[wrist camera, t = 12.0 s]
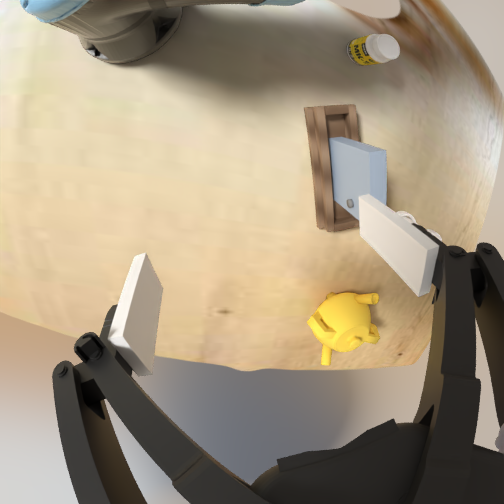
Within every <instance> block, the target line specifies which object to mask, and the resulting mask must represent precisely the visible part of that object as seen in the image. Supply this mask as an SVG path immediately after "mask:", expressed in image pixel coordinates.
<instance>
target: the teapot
mask: <svg viewBox="0 0 504 504" xmlns="http://www.w3.org/2000/svg"><path fill="white" fill-rule="evenodd" d="M378 301H379V296H378V294H377V293H370V294H361V295H358V294H356V293H339V294H335V293H334V292H331V293H329V294H328V295H327V296H326V300H325V301H324V302H323V303H322V304H321V305H320V306H319V307H318V309H317V310H316V312H315V314H313V315H312V316H311V318H310V319H309V320H308V322H307V323H308V325H309V326H310V327H311V329H312V331H313V333H314V335H315V337H316V338H317V339H318V340H319V341H320V342H321V343H322V344H323V348H322V358H321V365H330V363H331V355H332V349H333V350H335V351H339V352H348V351H351V350H354V349H356V348H357V347H359V346H360V345H362V344H363V343H364V342H367V343H373V344H376V343H377V342H378V340H379V339H380V336H379V333H378V330H377V327H376V325H374V324H372V323H371V314H370V310H369V306H368V304H377V303H378Z"/></svg>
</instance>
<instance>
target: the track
mask: <svg viewBox="0 0 504 504" xmlns="http://www.w3.org/2000/svg"><path fill="white" fill-rule="evenodd" d="M304 111H305V118H306V125H307V132H308V140H309V148H310V156H311V165H312V174H313V184H314V195H315V206H316V219H317V227H318V228H319V229H322V228H325V230H326V231H327V232H330V231H340V230H344V229H348V228H353V227H357V226H360V223H359V220H358V219H356V218H355V217H354V216H353V215H352V214H350V213H349V212H348V211H347V210H346V209H344V208H343V207H342V206H341V205H340V204H338V203H337V202H336V201H335V200H333V194H332V179H331V167H330V156H329V145H328V138H334V137H344V138H348V139H351V140H355V141H358V142H359V137H358V126H357V116H356V107H355V105H351V104H350V105H331V106H318V107H307V108H304Z"/></svg>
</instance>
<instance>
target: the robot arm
mask: <svg viewBox="0 0 504 504" xmlns="http://www.w3.org/2000/svg"><path fill="white" fill-rule="evenodd" d="M303 1H305V0H20V3H21V5H22V7H23V8H24V10H25V11H26V12H28V13H30V14H32V15H34V16H36V18H37V19H39V20H40V21H41V22H44V23H49V24H52V25H54V26H57V27H59V28H62V29H64V30H67V31H69V32H71V33H74V34H76V35H78V36H79V39H80V42H81V44H82V46H83V48H84V49H85V50H86V51H87V52H88V53H89V54H90V55H92V56H93V57H95V58H97V59H100V60H102V61H105V62H109V63H127V62H132V61H136V60H139V59H141V58H144V57H146V56H148V55H150V54H151V53H153V52H155V51H156V50H158V49H159V48H160V47H162V46H163V45H164V44H165V43H166V42H167V41H168V40H169V39H170V38H171V36H172V35H173V34H174V32H175V31H176V29H177V27H178V25H179V23H180V20H181V16H182V7H184V6H195V5H210V4H248V5H249V6H261V5H280V6H290V5H294V4H297V3H300V2H303ZM359 223H360V236H361V237H362V238H363V239H364V240H365V241H366V242H367V243H368V244H369V245H370V246H371V247H372V248H373V249H374V250H375V251H376V252H377V253H378V254H379V255H380V256H381V257H382V258H383V259H384V260H385V261H386V262H387V263H388V264H389V265H390V267H391V268H392V269H393V270H394V271H395V272H396V273H397V274H398V275H399V276H400V277H401V278H402V280H403V281H404V282H405V283H406V284H407V285H408V286H409V287H410V288H411V290H412V291H413V292H414V293H415V294H416V295H417V296H418V297H420V296H422V295H425V294H427V293H429V292H430V288H431V284H432V283H433V284H434V285H435V286H436V290H435V294H434V297H433V301H432V304H434V314H433V326H432V335H431V344H430V352H429V359H428V365H427V371H426V376H425V382H424V387H423V392H422V396H421V401H420V405H419V408H418V411H417V414H416V416H415V418H414V421H413V423H397V424H396V423H395V420H394V419H391V420H389V421H387V422H385V423H383V424H381V425H378V426H376V427H374V428H372V429H369V430H367V431H366V432H364V433H363V434H361V435H360V436H358V437H357V438H356V439H354V440H353V441H351V442H350V443H348V444H347V445H345V446H343V447H342V448H339V449H332V450H321V451H308V452H303V453H301V454H296V455H292V456H288V457H284V458H281V459H277V463H278V465H276V466H274V467H272V468H270V469H269V470H267V471H266V472H264V473H263V474H262V475H260V476H259V477H258V478H257V479H256V480H255V482H254V483H253V484H252V485H249V484H248V483H246V482H245V481H244V480H242V479H241V478H239V477H238V476H236V475H235V474H233V473H232V472H231V471H229V470H228V469H227V468H226V467H224V466H223V465H221V464H220V463H219V462H218V461H216V460H215V459H214V458H213V457H212V456H211V455H209V454H208V453H207V452H206V451H205V450H203V449H202V448H201V447H200V446H199V445H198V444H197V443H195V442H194V441H193V440H192V439H191V438H190V437H189V436H188V435H187V434H186V433H185V432H183V431H182V430H181V429H180V428H179V427H178V426H177V425H176V424H175V423H174V422H173V421H172V420H171V419H170V418H169V417H168V416H167V415H166V414H165V413H164V412H163V411H162V410H161V409H160V408H159V407H158V406H157V405H156V404H155V403H154V401H153V400H152V399H151V398H150V397H149V396H148V395H147V394H146V393H145V392H144V390H143V389H142V388H141V387H140V386H139V385H138V384H137V383H136V381H135V380H134V379H133V378H132V377H131V375H132V370H133V371H134V372H135V373H136V374H137V375H138V376H146V375H152V373H153V362H154V353H155V344H156V336H157V328H158V320H159V313H160V306H161V300H162V293H163V287H162V285H161V283H160V281H159V279H158V277H157V275H156V273H155V271H154V268H153V266H152V264H151V262H150V260H149V258H148V256H147V253H143V254H139V255H136V256H135V257H134V260H133V262H132V265H131V268H130V270H129V273H128V276H127V279H126V282H125V284H124V287H123V290H122V293H121V296H120V299H119V302H118V304H117V305H113V306H112V307H111V309H110V310H109V311H108V313H107V315H106V318H105V322H104V325H103V328H102V331H101V334H100V337H98V336H97V335H96V334H95V333H94V332H89V333H85V334H84V335H82V336H81V337H80V338H79V339H78V340H77V341H76V343H75V346H74V351H75V353H76V354H77V355H78V356H79V357H80V359H81V360H82V361H83V362H82V363H80V364H78V365H76V366H74V365H73V364H72V363H71V362H69V361H62V362H60V363H59V364H58V365H57V366H56V367H55V369H54V371H53V376H52V378H53V389H54V399H55V407H56V414H57V420H58V427H59V432H60V438H61V442H62V447H63V452H64V456H65V459H66V464H67V468H68V471H69V474H70V478H71V482H72V485H73V488H74V491H75V494H76V497H77V500H78V503H79V504H147V502H146V501H145V499H144V497H143V495H142V493H141V491H140V489H139V487H138V485H137V483H136V481H135V479H134V477H133V475H132V472H131V471H130V468H129V466H128V464H127V461H126V459H125V457H124V454H123V452H122V449H121V447H120V444H119V442H118V439H117V437H116V434H115V431H114V428H113V426H112V423H111V420H110V417H109V414H108V411H107V408H106V405H105V401H104V399H107V400H108V402H109V403H110V405H111V406H112V408H113V409H114V411H115V412H116V414H117V415H118V416H119V418H120V419H121V420H122V422H123V423H124V425H125V426H126V427H127V429H128V430H129V431H130V433H131V434H132V435H133V436H134V438H135V439H136V440H137V441H138V442H139V444H140V445H141V446H142V448H143V449H144V450H145V451H146V452H147V453H148V455H149V456H150V457H151V458H152V459H153V460H154V461H155V463H156V464H157V465H158V466H159V467H160V468H161V469H162V470H163V471H164V472H165V473H166V474H167V475H168V477H169V478H170V479H171V480H172V485H173V486H174V488H175V489H176V490H177V491H178V492H179V493H180V494H181V495H182V496H183V497H184V498H185V499H186V500H187V501H188V502H189V503H190V504H504V260H503V259H502V257H501V256H500V254H499V252H498V251H497V249H496V248H495V247H494V246H492V245H491V244H488V243H484V242H483V243H479V244H478V245H477V248H476V252H469V253H467V252H466V251H465V250H464V249H463V248H461V247H458V246H446V245H445V244H444V243H443V242H441V241H440V240H439V239H438V238H436V237H435V236H434V235H432V234H431V233H430V232H428V231H427V230H426V229H425V228H423V227H422V226H420V225H417V224H415V223H412V224H411V223H409V222H408V221H407V220H405V219H404V218H403V217H401V216H400V215H399V214H397V213H396V212H394V211H393V210H392V209H390V208H389V207H387V206H386V205H384V204H383V203H382V202H380V201H379V200H377V199H376V198H374V197H373V196H371V195H370V194H366V195H362V196H359ZM475 318H476V320H477V324H478V327H479V331H480V334H481V338H482V341H483V345H484V349H485V353H486V357H487V362H488V366H489V371H490V376H491V382H492V387H493V393H494V400H495V407H496V412H497V418H498V422H499V426H500V431H499V436H498V437H497V438H496V441H495V445H496V447H497V448H498V449H499V452H497V451H493V450H490V449H487V448H484V447H481V446H478V445H475V444H473V443H474V438H475V433H476V426H477V420H478V412H479V402H480V391H481V381H480V379H476V377H475V370H476V368H475V367H476V325H475Z"/></svg>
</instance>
